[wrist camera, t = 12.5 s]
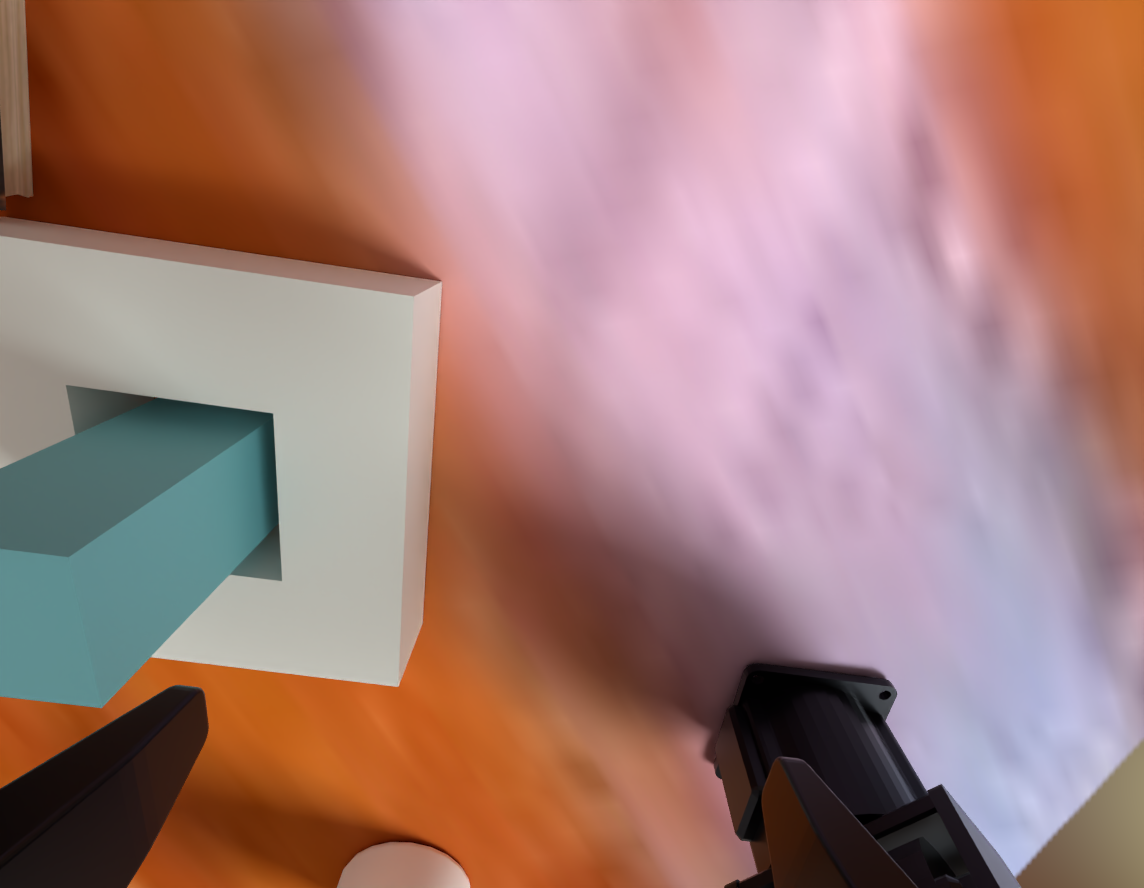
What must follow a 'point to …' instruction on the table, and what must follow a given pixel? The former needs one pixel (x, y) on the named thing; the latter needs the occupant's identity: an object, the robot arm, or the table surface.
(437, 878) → the white bottle
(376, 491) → the socket block
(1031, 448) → the table surface
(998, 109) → the table surface
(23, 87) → the hardcover book
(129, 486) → the peg
